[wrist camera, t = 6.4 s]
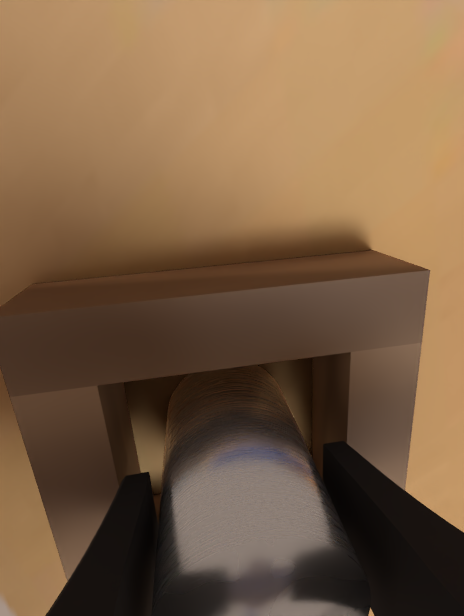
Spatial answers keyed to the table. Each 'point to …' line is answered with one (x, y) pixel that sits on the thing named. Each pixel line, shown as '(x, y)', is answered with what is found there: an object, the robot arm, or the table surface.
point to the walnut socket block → (206, 363)
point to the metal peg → (247, 509)
